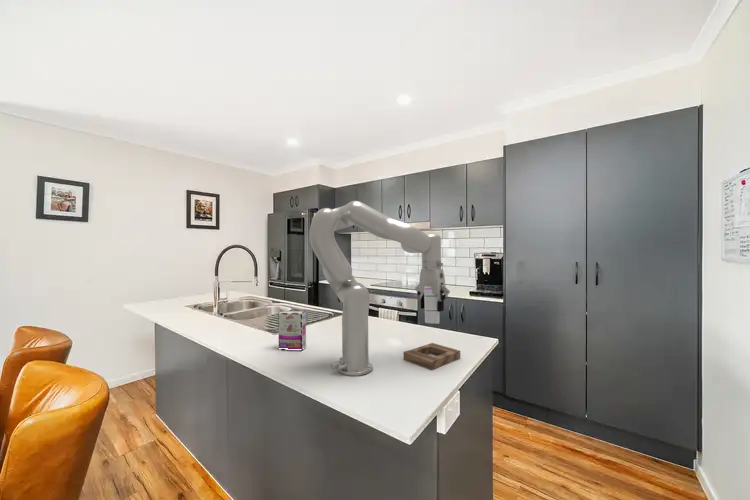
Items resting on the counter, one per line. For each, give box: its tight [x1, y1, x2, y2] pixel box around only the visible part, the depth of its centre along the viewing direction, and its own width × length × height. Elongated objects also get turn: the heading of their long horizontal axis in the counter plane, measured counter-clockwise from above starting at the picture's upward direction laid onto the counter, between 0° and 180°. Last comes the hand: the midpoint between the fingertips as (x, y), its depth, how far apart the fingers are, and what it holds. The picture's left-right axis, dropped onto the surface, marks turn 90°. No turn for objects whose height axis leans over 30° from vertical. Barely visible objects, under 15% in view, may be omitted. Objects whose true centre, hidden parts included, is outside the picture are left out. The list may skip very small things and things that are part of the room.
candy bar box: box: [277, 310, 307, 349], centre depth 132 cm, size 11×5×16 cm, turn 80°
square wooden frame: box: [403, 342, 461, 371], centre depth 118 cm, size 18×14×3 cm
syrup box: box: [424, 286, 441, 325], centre depth 118 cm, size 6×6×14 cm
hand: (431, 309), depth 118 cm, fingers closed on syrup box, 7 cm apart
